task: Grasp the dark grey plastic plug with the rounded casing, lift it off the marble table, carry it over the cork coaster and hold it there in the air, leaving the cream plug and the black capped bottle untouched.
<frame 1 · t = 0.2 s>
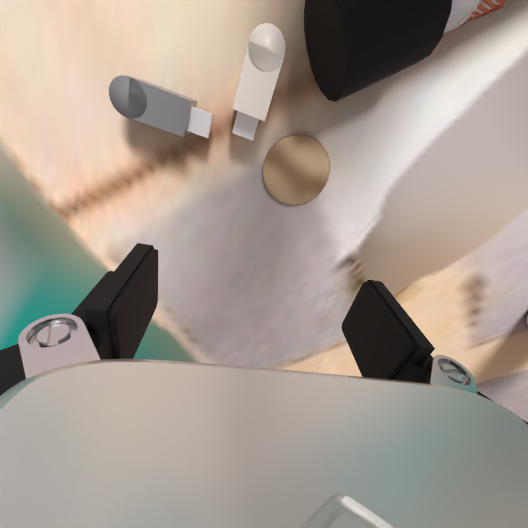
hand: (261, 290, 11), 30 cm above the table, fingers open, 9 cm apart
cream plug: (255, 86, 32), on the table
grey plug: (169, 108, 33), on the table
cork coaster: (295, 171, 38), on the table
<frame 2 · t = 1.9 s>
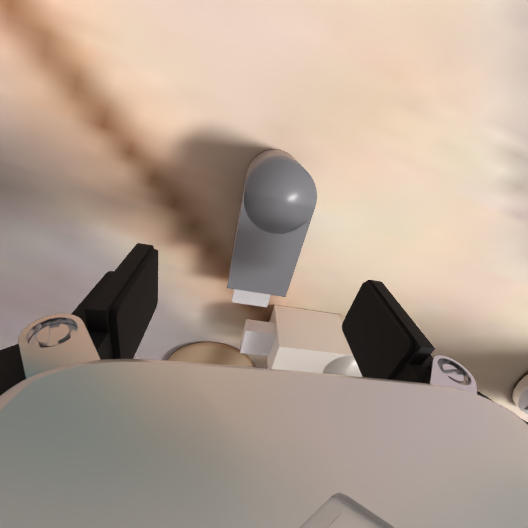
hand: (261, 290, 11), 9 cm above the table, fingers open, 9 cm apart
cream plug: (300, 324, 25), on the table
grey plug: (264, 221, 20), on the table
cork coaster: (210, 373, 29), on the table
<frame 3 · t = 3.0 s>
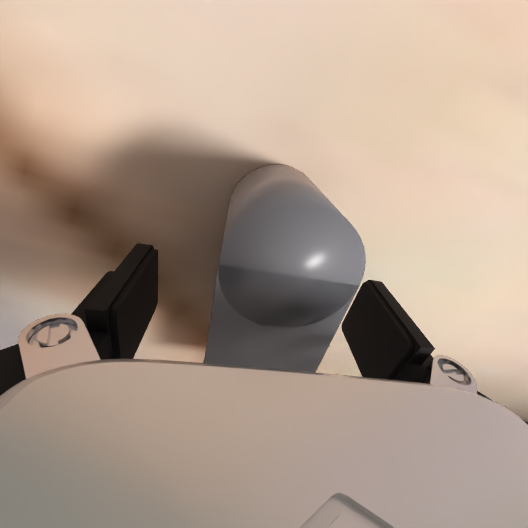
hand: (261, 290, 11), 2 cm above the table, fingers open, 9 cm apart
grey plug: (259, 272, 13), on the table
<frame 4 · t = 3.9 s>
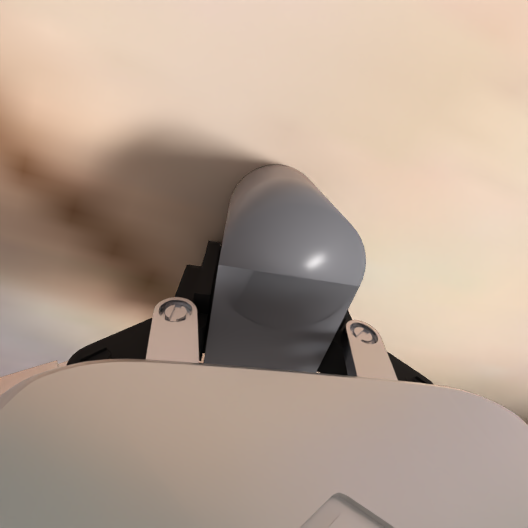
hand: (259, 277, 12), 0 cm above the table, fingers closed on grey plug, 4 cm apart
grey plug: (259, 272, 13), on the table, touching gripper
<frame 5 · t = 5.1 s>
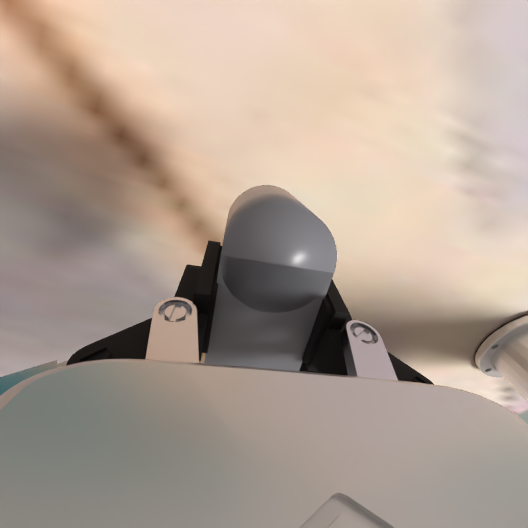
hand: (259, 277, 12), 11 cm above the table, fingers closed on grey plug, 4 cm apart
grey plug: (253, 278, 14), point 10 cm above the table, tilted 8°, touching gripper
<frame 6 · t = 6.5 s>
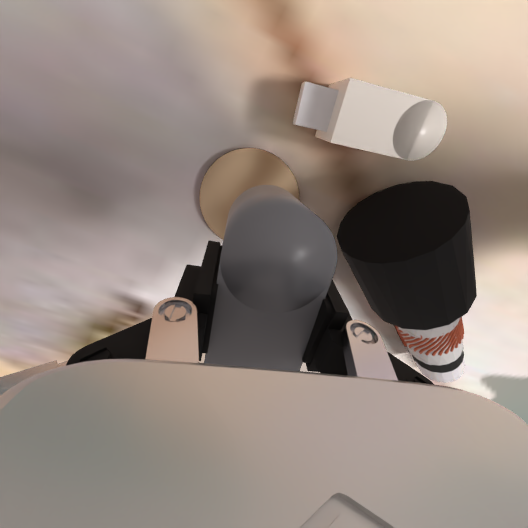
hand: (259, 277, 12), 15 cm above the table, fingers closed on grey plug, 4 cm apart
cream plug: (355, 120, 23), on the table
grey plug: (254, 278, 14), point 14 cm above the table, tilted 7°, touching gripper
cork coaster: (250, 201, 26), on the table
black capped bottle: (406, 297, 35), on the table
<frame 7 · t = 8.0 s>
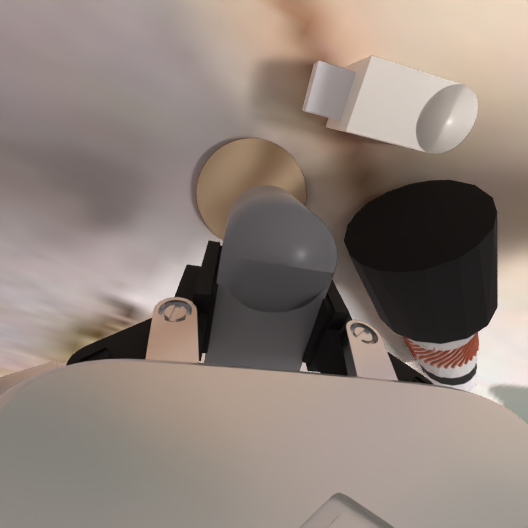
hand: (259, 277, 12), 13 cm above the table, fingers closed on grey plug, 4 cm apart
cream plug: (370, 109, 20), on the table
grey plug: (253, 278, 14), point 12 cm above the table, tilted 7°, touching gripper
cork coaster: (252, 197, 24), on the table
black capped bottle: (415, 304, 32), on the table
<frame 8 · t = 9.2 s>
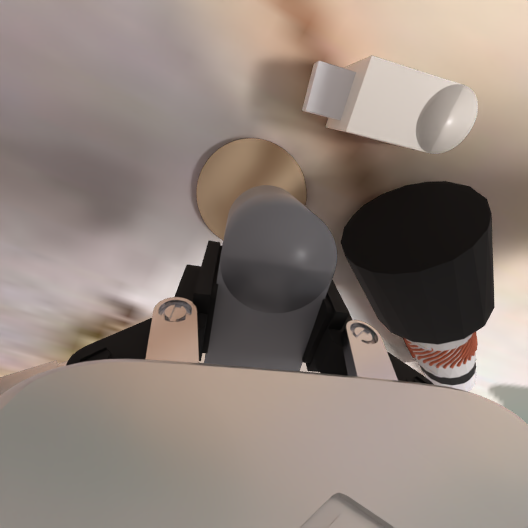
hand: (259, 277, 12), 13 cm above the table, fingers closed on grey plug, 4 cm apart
cream plug: (370, 109, 20), on the table
grey plug: (253, 278, 14), point 12 cm above the table, tilted 7°, touching gripper
cork coaster: (252, 197, 24), on the table
black capped bottle: (414, 304, 32), on the table
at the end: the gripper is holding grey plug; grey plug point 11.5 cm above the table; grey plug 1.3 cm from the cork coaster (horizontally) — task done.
